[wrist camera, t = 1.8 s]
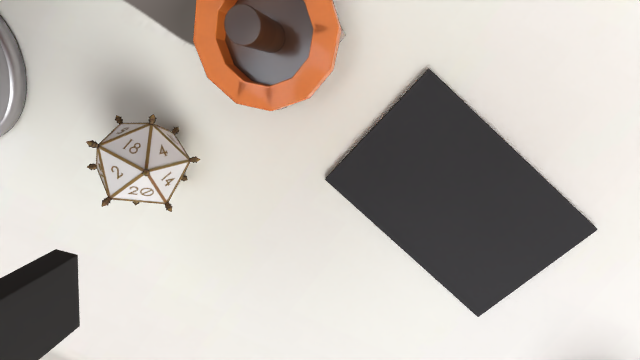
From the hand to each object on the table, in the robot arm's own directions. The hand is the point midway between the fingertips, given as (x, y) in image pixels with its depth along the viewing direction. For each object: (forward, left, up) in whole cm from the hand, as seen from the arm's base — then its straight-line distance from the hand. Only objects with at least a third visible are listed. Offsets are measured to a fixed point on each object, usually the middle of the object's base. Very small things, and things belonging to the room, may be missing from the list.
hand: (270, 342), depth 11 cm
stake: (-11, +5, -23) cm, 26 cm away
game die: (-13, -11, -23) cm, 29 cm away
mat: (+10, +5, -23) cm, 25 cm away
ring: (-11, +5, -20) cm, 23 cm away
